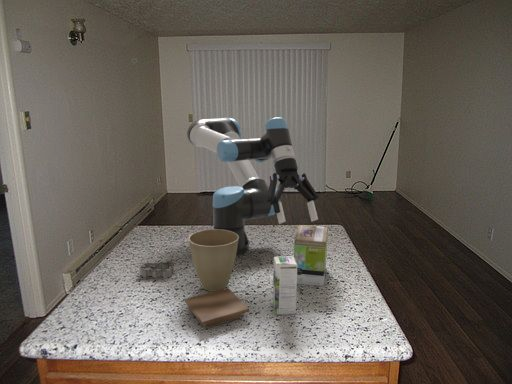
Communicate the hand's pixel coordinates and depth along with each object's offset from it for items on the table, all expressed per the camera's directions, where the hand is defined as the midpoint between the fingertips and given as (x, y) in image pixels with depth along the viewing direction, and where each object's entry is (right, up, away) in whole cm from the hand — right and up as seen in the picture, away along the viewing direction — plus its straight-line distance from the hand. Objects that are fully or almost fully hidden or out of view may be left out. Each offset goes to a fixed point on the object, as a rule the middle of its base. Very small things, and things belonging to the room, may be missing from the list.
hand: (299, 221), depth 128 cm
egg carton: (-47, -18, +3) cm, 50 cm away
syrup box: (-6, -23, -20) cm, 31 cm away
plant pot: (-26, -19, -7) cm, 34 cm away
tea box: (+4, -18, +1) cm, 18 cm away
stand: (-24, -23, -22) cm, 40 cm away
